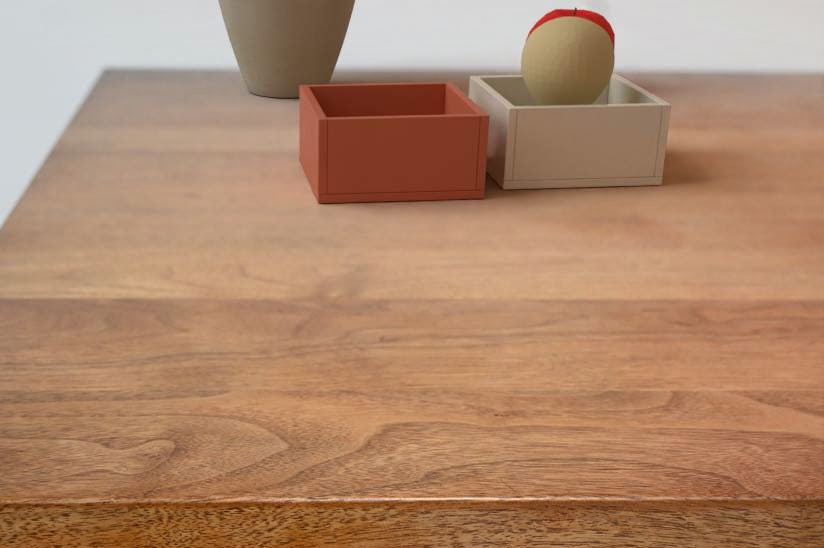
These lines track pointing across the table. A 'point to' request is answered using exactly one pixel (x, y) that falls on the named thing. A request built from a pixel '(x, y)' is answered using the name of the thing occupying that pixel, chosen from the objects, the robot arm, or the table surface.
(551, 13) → the apple
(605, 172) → the cream bin
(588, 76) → the light bulb
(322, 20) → the plant pot
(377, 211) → the table surface
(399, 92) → the terracotta bin
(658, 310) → the table surface
